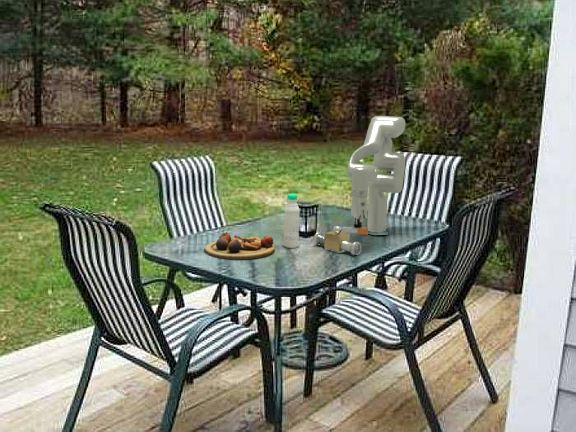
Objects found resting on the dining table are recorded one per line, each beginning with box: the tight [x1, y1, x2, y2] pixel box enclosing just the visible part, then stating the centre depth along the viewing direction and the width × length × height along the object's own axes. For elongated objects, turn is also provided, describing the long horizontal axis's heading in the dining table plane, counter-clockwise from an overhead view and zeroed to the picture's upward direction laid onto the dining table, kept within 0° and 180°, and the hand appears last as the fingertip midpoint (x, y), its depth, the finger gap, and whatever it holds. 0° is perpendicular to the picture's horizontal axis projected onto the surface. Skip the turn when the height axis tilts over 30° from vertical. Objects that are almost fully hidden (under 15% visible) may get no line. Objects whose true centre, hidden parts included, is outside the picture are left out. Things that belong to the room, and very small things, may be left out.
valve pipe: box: [312, 230, 363, 255], centre depth 288 cm, size 7×24×9 cm, turn 44°
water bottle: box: [283, 193, 301, 249], centre depth 290 cm, size 7×7×25 cm
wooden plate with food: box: [204, 231, 276, 261], centre depth 284 cm, size 32×32×8 cm
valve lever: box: [333, 225, 369, 236], centre depth 286 cm, size 16×4×3 cm, turn 83°
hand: (357, 232), depth 290 cm, fingers closed
